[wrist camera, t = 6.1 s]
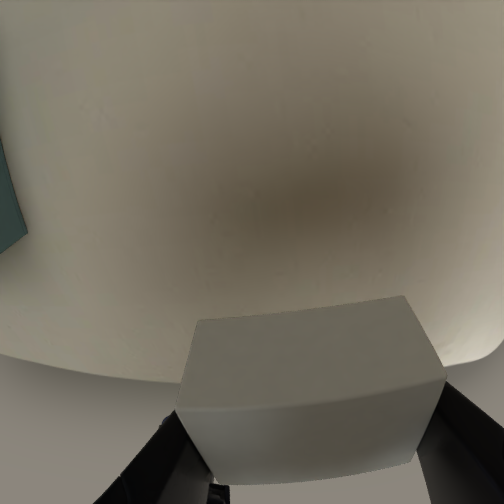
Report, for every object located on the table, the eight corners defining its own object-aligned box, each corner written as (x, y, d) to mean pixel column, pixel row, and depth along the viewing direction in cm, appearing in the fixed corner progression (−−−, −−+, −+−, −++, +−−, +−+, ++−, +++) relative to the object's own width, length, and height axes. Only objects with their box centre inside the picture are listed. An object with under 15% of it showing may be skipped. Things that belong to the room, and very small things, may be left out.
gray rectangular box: (388, 390, 10) (410, 463, 7) (227, 409, 10) (218, 485, 7) (404, 293, 8) (449, 375, 5) (197, 319, 8) (172, 409, 6)
